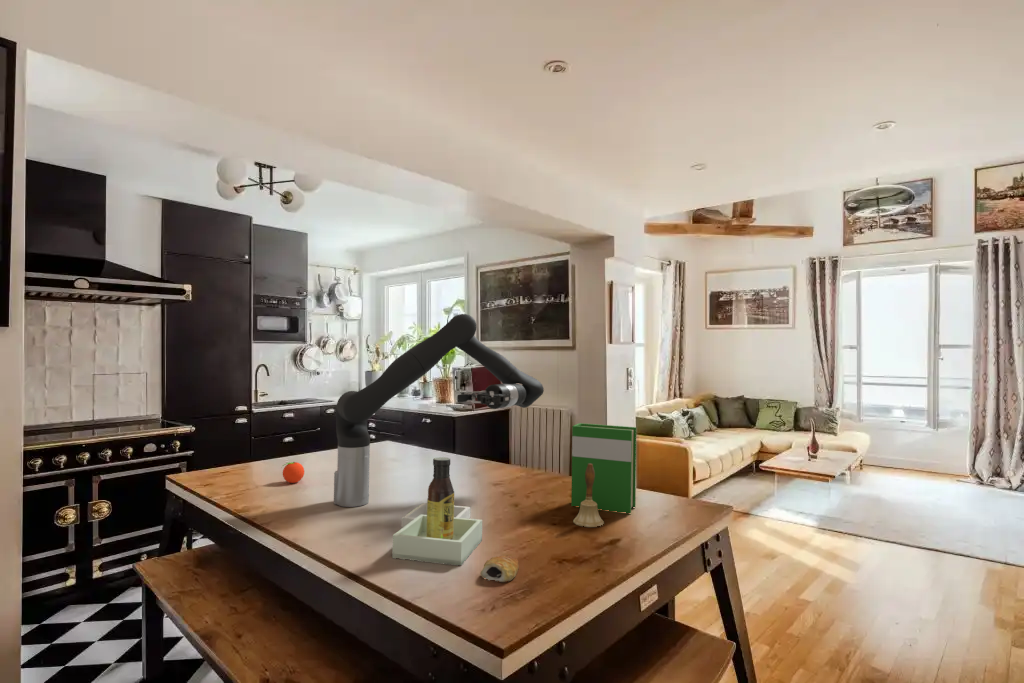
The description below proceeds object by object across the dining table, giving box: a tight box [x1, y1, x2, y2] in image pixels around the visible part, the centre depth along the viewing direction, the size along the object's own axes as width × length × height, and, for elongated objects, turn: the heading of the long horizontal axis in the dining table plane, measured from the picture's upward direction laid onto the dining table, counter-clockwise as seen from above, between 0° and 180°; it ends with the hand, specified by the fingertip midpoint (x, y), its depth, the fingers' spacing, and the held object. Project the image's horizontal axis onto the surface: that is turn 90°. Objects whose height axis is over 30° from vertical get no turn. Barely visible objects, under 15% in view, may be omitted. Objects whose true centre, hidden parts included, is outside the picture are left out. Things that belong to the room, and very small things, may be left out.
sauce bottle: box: [426, 456, 455, 540], centre depth 126 cm, size 7×6×20 cm
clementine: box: [282, 461, 305, 484], centre depth 184 cm, size 8×7×7 cm
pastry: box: [480, 555, 520, 583], centre depth 113 cm, size 9×7×4 cm
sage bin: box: [391, 514, 483, 566], centre depth 126 cm, size 16×16×5 cm
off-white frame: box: [401, 502, 471, 529], centre depth 144 cm, size 14×14×3 cm
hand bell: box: [572, 463, 605, 528], centre depth 147 cm, size 8×8×16 cm
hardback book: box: [570, 422, 637, 514], centre depth 162 cm, size 18×7×24 cm, turn 66°
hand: (469, 399), depth 156 cm, fingers open, 8 cm apart
